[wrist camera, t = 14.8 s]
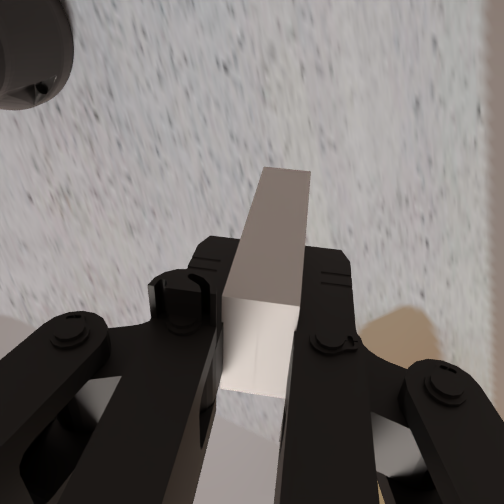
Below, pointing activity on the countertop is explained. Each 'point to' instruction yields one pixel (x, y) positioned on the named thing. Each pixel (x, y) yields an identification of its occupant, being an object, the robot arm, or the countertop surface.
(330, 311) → the robot arm
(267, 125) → the countertop surface
